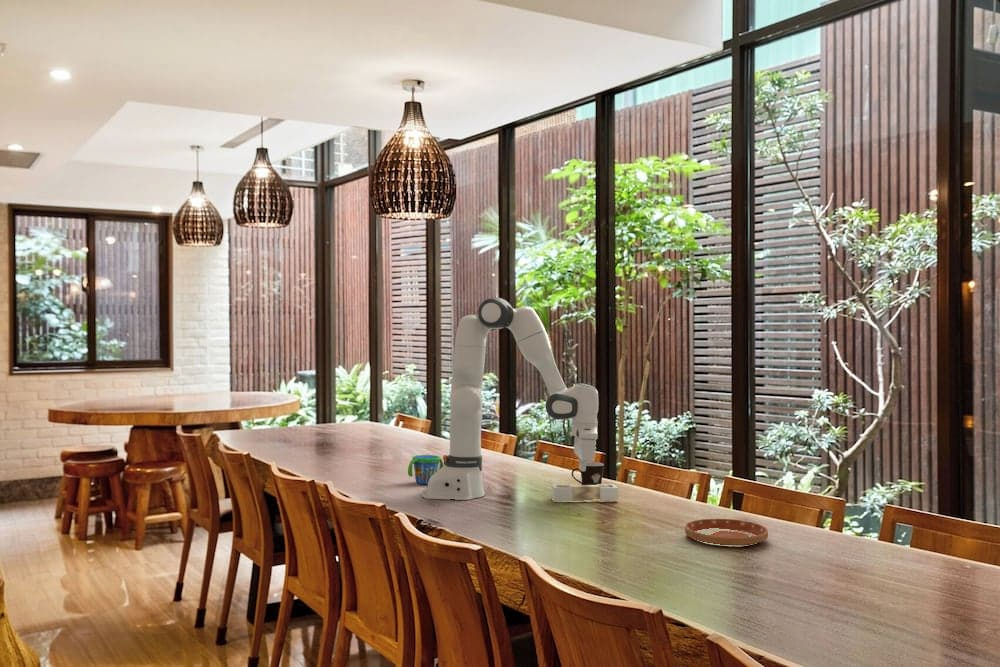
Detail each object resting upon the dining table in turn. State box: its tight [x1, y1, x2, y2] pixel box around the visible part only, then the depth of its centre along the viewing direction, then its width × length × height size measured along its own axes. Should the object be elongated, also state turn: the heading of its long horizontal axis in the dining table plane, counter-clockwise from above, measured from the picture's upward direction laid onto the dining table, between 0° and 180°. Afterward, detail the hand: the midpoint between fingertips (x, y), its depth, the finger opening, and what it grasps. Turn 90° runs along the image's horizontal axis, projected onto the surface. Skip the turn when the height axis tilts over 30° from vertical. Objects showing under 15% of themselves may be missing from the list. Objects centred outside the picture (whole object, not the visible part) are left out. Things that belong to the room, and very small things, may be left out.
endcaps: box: [551, 483, 619, 503], centre depth 294 cm, size 22×7×5 cm, turn 94°
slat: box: [561, 484, 608, 500], centre depth 294 cm, size 16×3×4 cm, turn 94°
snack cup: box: [407, 454, 444, 486], centre depth 323 cm, size 16×10×10 cm
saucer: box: [684, 518, 769, 545], centre depth 242 cm, size 23×23×4 cm
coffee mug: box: [571, 461, 605, 485], centre depth 311 cm, size 12×9×10 cm
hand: (582, 470), depth 294 cm, fingers closed
